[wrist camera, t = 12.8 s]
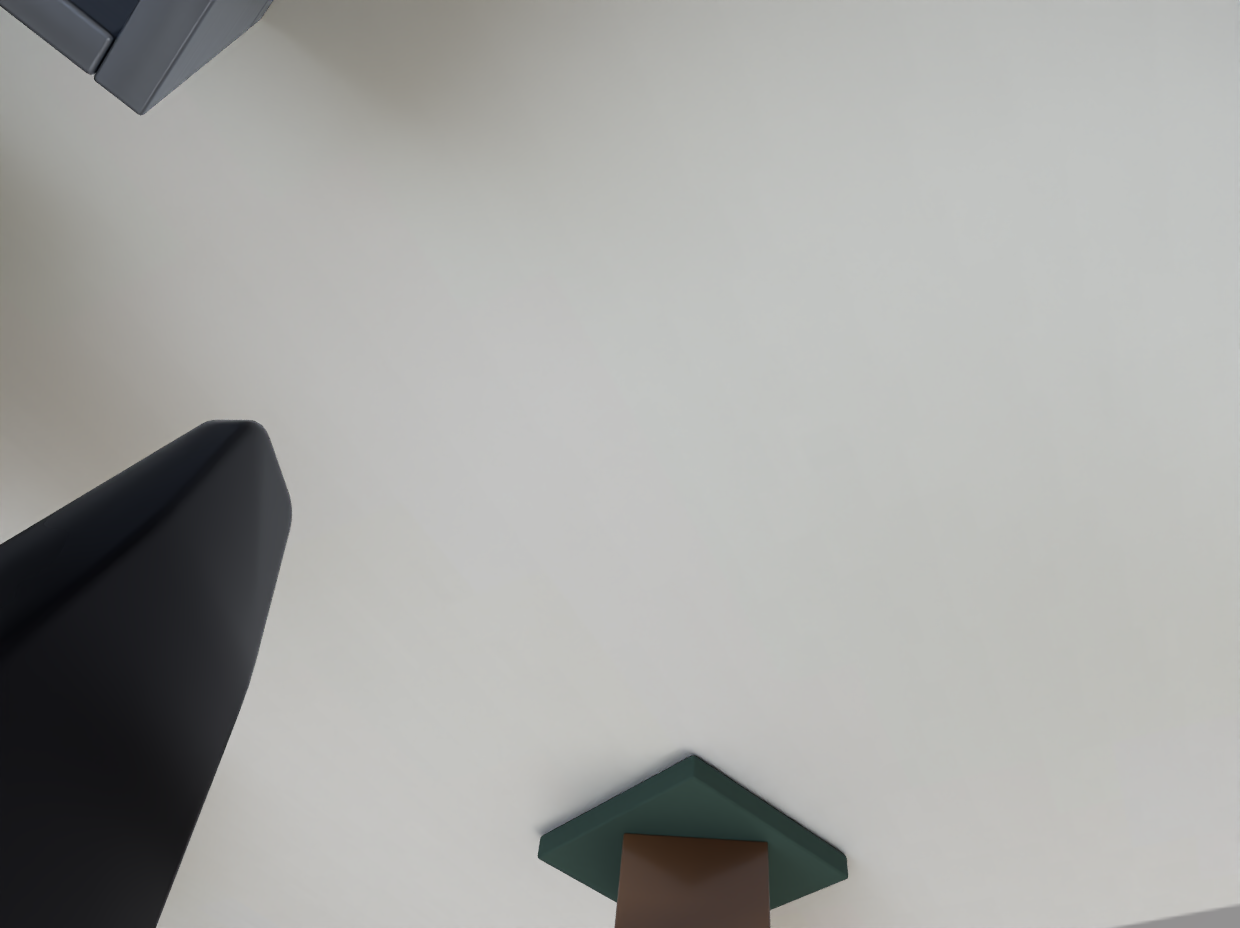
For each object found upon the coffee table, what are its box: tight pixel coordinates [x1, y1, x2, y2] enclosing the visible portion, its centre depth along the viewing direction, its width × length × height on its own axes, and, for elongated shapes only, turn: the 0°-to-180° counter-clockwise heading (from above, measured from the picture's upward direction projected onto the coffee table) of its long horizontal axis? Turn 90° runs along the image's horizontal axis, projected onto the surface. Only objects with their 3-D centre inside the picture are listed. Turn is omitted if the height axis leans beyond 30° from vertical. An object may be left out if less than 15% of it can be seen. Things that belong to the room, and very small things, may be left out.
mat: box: [538, 756, 848, 910], centre depth 33 cm, size 7×7×1 cm
